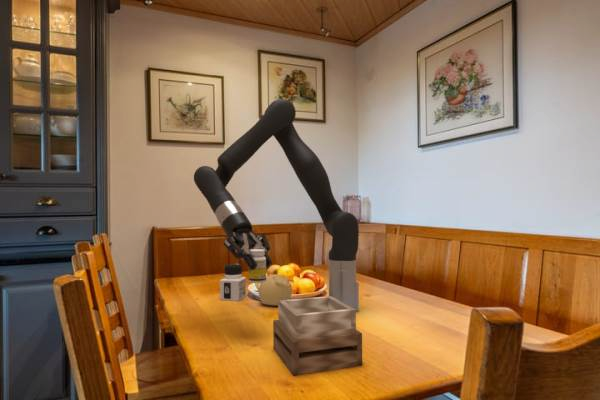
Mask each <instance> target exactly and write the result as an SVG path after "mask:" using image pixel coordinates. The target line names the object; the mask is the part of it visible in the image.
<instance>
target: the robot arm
mask: <svg viewBox="0 0 600 400" xmlns="http://www.w3.org/2000/svg"><path fill="white" fill-rule="evenodd" d="M296 112H297V111H296V108H295V106H294V104H293V103H292V102H291V101H290V100H288V99H284V98H278V99H276V100H273V101H272V102H271V103H270V104H269V105H268V107H267V108H266V109H265V111H264V113H263V115H262V116H261V117H260V119H259V120H258V121H257V122H256V123H255V124H254V125H253V126H252V127H251V128H250V129H248V130H247V131H246V132H245V133H244V134H243V135H241V136H240V137H239V138H238V139H237V140H235V141H233V143H232V144H231V145H230V146H229V147H227V148H226V149H224V151H223V152H222V153H221V154H219V156H218V157H217V160H216V161H217V167H216V169H214V168H213V167H211V166H209V165H203V166H199V167H198V168H197V169H196V170H195V171H194V174H193V181H194V184H195V185H196V187H197V189H198V190H199V191H200V193H201V194H202V195H203V197H204V198H205V199H206V201H207V203H208V205H209V207H210V209H211V210H212V212H213V213H214V215H215V217H216V220H217V222H218V223H219V226H220V227H221V229H222V230H223V231H224V233H225V235H226V239H224V240H225V241H224V242H223V246H225V249H227V250H228V251H229V253H231V254H232V256H234V258H236V260H238V259H241V260H243V261H244V262H245V264H246V266H247V267H248V269H249V268H250V269H251V270H254V269H255V268H256V267H257V263H256V262H255V260H254V258H253V257H252V255H251V254H250V250H252V249H263V250H265V255H264V257H265V258H266V268H270V266H271V265H272V264H273V261H272V259H271V257H270V256H269V254H268V253H269V251H270V250H271V246H270V243H269V241H268V239H267V237H266V234H265V233H261V234H260V235H258V234H257V233H256V232H255V231H253V226H252V223H251V222H250V220H249V218H248V217H247V215H246V213H245V211H243V209H242V207H241V206H240V205H239V204H238V203H237V202H236V200H235V198H234V197H233V196H232V194H231V193H230V191H228V189H227V186H228V184H229V183H230V182H231V180H232V178H233V177H234V175H235V173H236V172H237V171H238V170H240V169H241V168H242V167H243V166H244V165H245V164H246V163H247V162H248V161H249V160H250V159H251V158H252V157H253V156H255V155H254V154H256V153H257V151H258V150H259V149H260V148H261V147H262V146H264V144H265V143H267V141H268V140H269V139H271V138H272V137H273V138H274V139H275V140H276V141H277V142H278V144H279V145H280V146H279V147H280V148H281V149H282V151H283V152H284V154H285V157H286V159H287V160H288V162H289V164H290V165H291V168H292V169H293V171H294V173H295V175H296V176H297V178H298V180H299V183H300V184H301V185H302V187H303V189H304V190H305V192H306V193H307V195H308V198H310V200H311V202H312V203H313V204H314V206H315V208H316V209H317V211H318V214H319V216H320V218H321V220H322V221H321V222H322V223H323V225H324V227H325V230H326V232H327V233H328V234H329V235H330V236H331V238H332V239H331V249H330V250H329V251H328V296H331V297H333V298H335V299H337V300H339V301H341V302H342V303H344V304H346V305H348V306H350V307H351V308H353V309H355V310H356V312H359V311H360V310H359V309H360V306H359V303H360V302H359V300H360V299H359V289H360V288H359V287H360V286H359V282H357V253H358V250H359V236H360V234H359V232H360V231H359V230H360V228H359V222H358V219H357V217H356V216H355V215H354V214H353V213H351V212H348V211H347V212H346V211H343V210H342V208H341V207H340V205H339V203H338V202H337V201H336V198H335V196H334V194H333V191H332V186H331V182H330V177H329V176H328V173H327V171H326V169H325V167H324V165H323V163H322V162H321V160H320V158H319V157H318V155H317V154H316V153H315V152H314V150H312V149H311V148H310V146H308V145H307V144H306V143H305V142H304V140H303V139H302V138H301V137H300V135H299V134H298V131H297V130H296V127H295V126H294V124H293V123H294V121H295V119H296V116H297V115H296V114H297V113H296Z"/></svg>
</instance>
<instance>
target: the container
mask: <svg viewBox="0 0 600 400" xmlns="http://www.w3.org/2000/svg"><path fill="white" fill-rule="evenodd" d="M245 297H247V278H246V277H245V276H243V266H242V265H241V264H239V263H229V264H228V263H227V264H226V265H224V278H222V279H220V280H219V299H220V301H229V302H230V301H231V302H232V301H235V302H240V301H241V300H242V299H244V298H245Z"/></svg>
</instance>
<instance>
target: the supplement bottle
mask: <svg viewBox="0 0 600 400" xmlns="http://www.w3.org/2000/svg"><path fill="white" fill-rule="evenodd" d="M249 252H250V253H249V254H251V255H252V257H253V258H254V260H255V262H256V263H257V267H256V268H255V269H254V270H251V269H250V268H249V267H248V281H249V283H251V284H258V283H260V284H261V282H265V281H266V278H267V267H266V258H265V257H264V255H265V250H263V249H260V248H259V249H252V250H250V249H249Z"/></svg>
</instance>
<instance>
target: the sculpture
mask: <svg viewBox="0 0 600 400" xmlns="http://www.w3.org/2000/svg"><path fill="white" fill-rule="evenodd" d="M292 291H293V288H292V283H291V282H290V280H289V278H288V277H285V275H283V274H276V273H274V274H273V275H269V276H266V281H265V282H261V283H260V285H259V286H258V296H259V300H260V301H261V303H262V304H263V305H268V306H273V307H274V306H276V307H278V301H279V300H291V297H292V295H293V294H292Z"/></svg>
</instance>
